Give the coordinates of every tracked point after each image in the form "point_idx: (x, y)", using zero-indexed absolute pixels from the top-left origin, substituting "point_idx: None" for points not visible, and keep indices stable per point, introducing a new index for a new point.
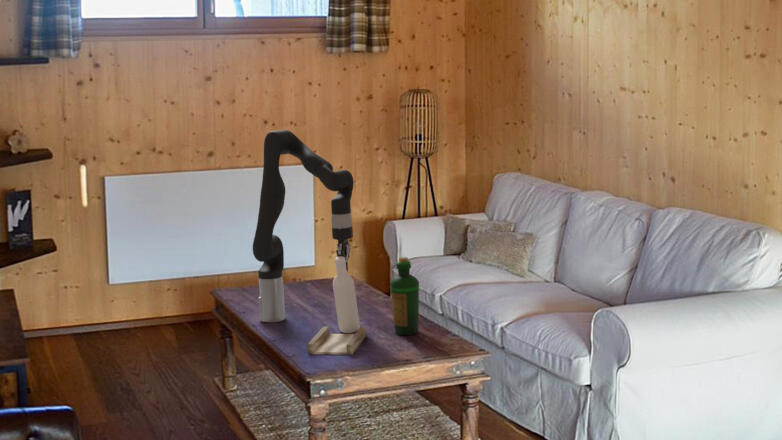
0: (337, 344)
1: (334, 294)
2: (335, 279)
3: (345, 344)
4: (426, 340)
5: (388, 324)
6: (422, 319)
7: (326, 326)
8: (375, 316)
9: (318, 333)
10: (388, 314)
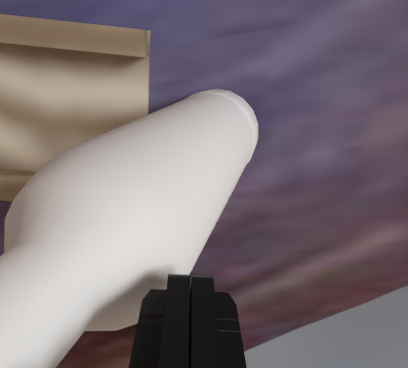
0: (6, 114)
1: (109, 131)
2: (22, 205)
3: (11, 144)
4: (110, 343)
5: (280, 242)
6: (315, 320)
7: (143, 45)
8: (390, 193)
9: (24, 24)
10: (401, 230)
